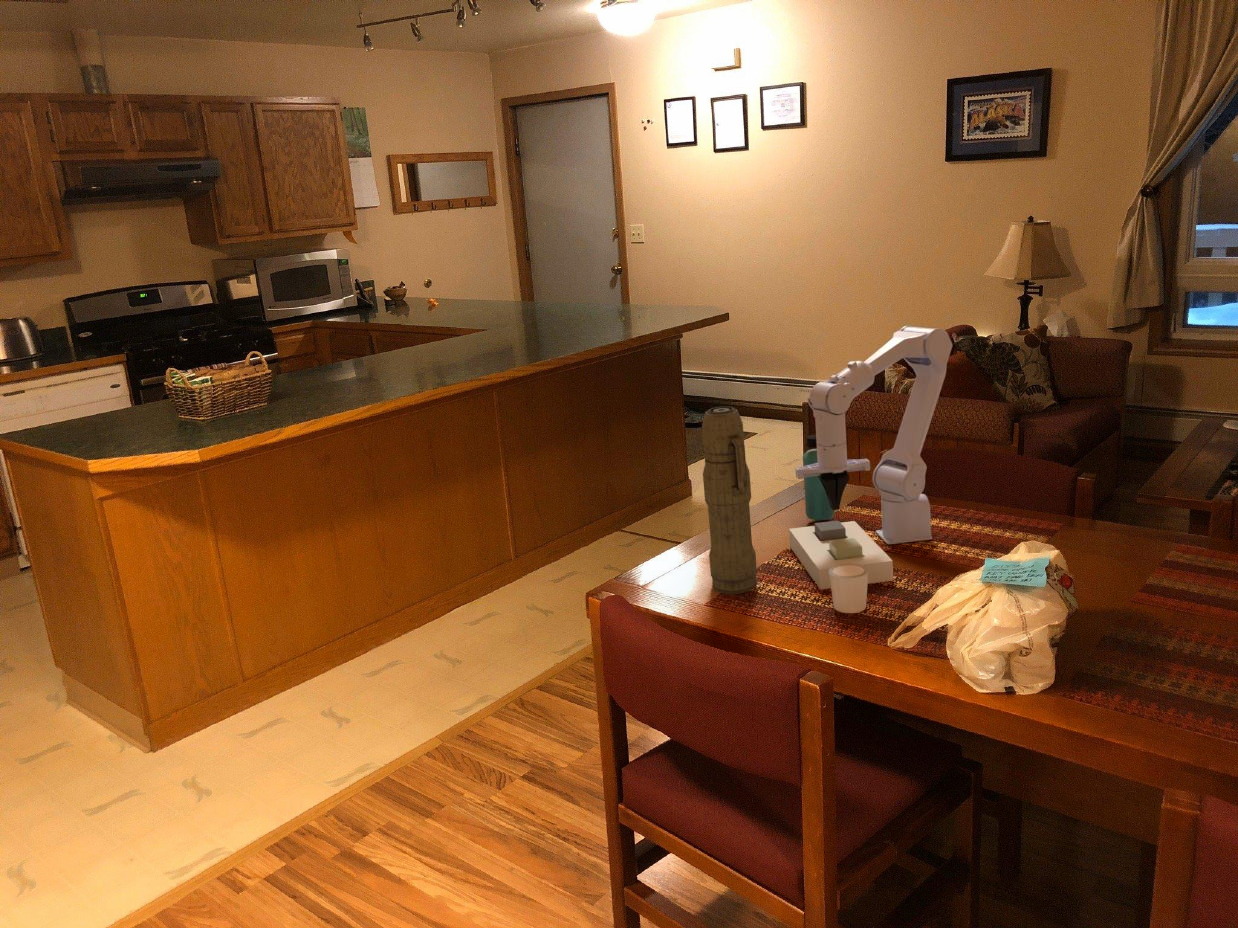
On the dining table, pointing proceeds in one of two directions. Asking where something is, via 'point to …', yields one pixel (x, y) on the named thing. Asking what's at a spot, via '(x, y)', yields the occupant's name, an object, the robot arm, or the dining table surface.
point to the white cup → (849, 587)
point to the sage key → (845, 549)
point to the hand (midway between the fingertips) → (834, 508)
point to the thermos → (728, 502)
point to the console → (820, 560)
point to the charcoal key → (829, 530)
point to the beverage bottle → (815, 487)
